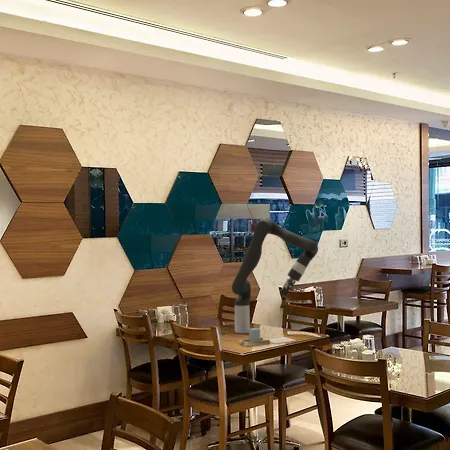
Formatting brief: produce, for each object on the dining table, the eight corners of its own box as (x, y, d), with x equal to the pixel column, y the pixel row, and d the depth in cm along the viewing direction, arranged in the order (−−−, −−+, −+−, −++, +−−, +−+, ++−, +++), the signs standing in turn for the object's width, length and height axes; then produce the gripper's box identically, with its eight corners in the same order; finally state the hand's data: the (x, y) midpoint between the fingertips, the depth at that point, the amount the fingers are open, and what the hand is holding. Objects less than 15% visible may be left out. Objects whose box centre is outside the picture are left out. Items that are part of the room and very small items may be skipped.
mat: (263, 340, 339) (263, 339, 339) (284, 337, 346) (284, 336, 346) (274, 343, 328) (274, 343, 328) (296, 340, 335) (296, 340, 335)
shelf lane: (239, 344, 329) (239, 340, 329) (262, 341, 337) (261, 337, 337) (246, 346, 322) (246, 342, 322) (269, 343, 329) (269, 339, 329)
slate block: (249, 343, 330) (248, 328, 330) (256, 342, 332) (255, 327, 332) (253, 345, 326) (252, 330, 326) (260, 344, 328) (259, 329, 328)
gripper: (289, 268, 346) (274, 291, 344) (294, 267, 332) (279, 292, 330) (299, 275, 346) (285, 298, 344) (305, 274, 332) (290, 299, 330)
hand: (282, 295), depth 337 cm, fingers open, 8 cm apart
